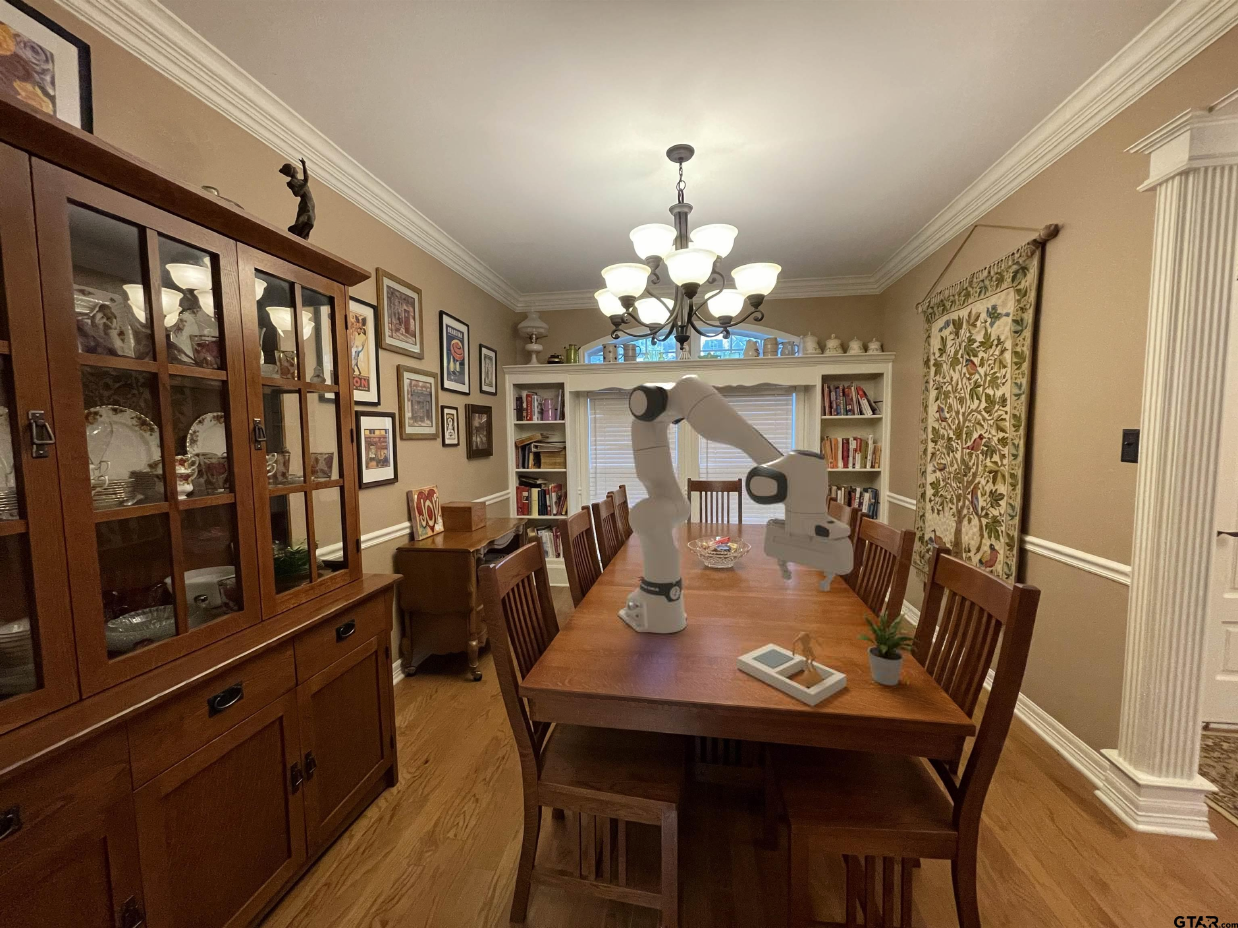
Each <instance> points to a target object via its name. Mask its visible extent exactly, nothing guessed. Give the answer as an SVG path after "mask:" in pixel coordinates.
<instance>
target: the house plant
mask: <svg viewBox="0 0 1238 928" xmlns="http://www.w3.org/2000/svg"><path fill="white" fill-rule="evenodd" d="M846 614H848V615H850V613H846ZM868 614H869V615H871V616H872V618H873V619H874V621H875V624H876V625H875V624H874V622H872V620H871V619H870V618H869V615H867V614H865V613H863V612H862V613H860V615H861V616H862V617H863V618H864V619H865V621H864V620H863V618H862V617H860V616H858V615H856V614H853V613H851V615H853V616H856V617H858V618H860V619H861V620H863V621H864V622H865V624H866V625H867V626H868V628H866V629H867V630H868V629H869V630H870V631H871V633H872V635H873V636H874V637H873V638H874V639H875V642H874V641H873V640H872V638H871V637H870V636H868V635H866V634H865V633H859V634H857V636H856V638H859V640H863V641H869V642H871V643H873V645H874V646H870V647H868V649H867V653H868V659H869V665H870V666H869V667H870V671H871V677H872V679H873V681H875V682H877V683H878V684H881V685H884V686H897V685H898V684H899V680H900V674H901V670H902V666H903V661H904V654H903V653H902V652H901V651H899V650H902V651H905V652H907V653H909V654H910V655H911V656H912V655H913V654H912V651H911V649H912V650H914V651H916V652H917V653H919V652H918V648H917V647H915V645H912V644H910V643H906V642H909V641H910V642H911V641H912V642H916V643H917V642H918V643H922V642H921V641H919V640H917V639H916V638H913V637H908V636H904V633H906V634H910V632H909V631H907V630H908V629H909V628H913V627H917V626H919V625H918V624H912V625H909V626H907V627H905V628H903V629H902V630H899V631H898V629H899V627H900V625H902V621H903V618H904V617H905V615H906V614H907V612H905V613H902V614H900V615H898V616H897V617H896V618H895V620H894V621H893V622H892V623H891V624H890V625H889V627H888V614H889V609H887V610H886V611H885V615H883V614H882V612H881V611H878V614H879V621H880V625H881V626H880V625H878V622H877V620H876V618H875V617H874V615H873V614H872V613H870V612H868ZM887 627H888V629H887ZM909 648H910V649H909Z"/></svg>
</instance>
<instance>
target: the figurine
mask: <svg viewBox="0 0 1238 928" xmlns="http://www.w3.org/2000/svg"><path fill="white" fill-rule="evenodd" d="M811 639H812V640H815V642H816V643H817V645H818V646H819V647H820V648H821V650H822V651H823V652H825V650H824V647H823V645H822V644H821V643H820V641H819V640H818V639H817V637H815V636H813V635H811V634H810V632H808V631H805V632H804V631H799V634H798V636H797V637H796V638H795V639H794V640H793V641H792V651H791V652H792V655H793V656H795V654H797V653H796V652H795V650H796V643H797V642H799V641H800V642H801V645H802V648H801V650H800V651H801V653H802V654H803V657H804V658H806V660H805V665H806V667H807V670H806V671H804V673H803V675H802V679H803V682H804V685H806V686H807V687H808V688H811V687H813V686H815V685H817V684H818V683H820V682H822V681H823V679H822V676H821V674H820V673H819V672H818V671H817V670H816V669H815V668H814V665H813V663H812V662H813V661H814V662H815V661H816V659H817V656H816V655H815V653H814V651H813V647H812V646H810V643H811ZM810 657H811V658H810ZM809 660H810V663H811V666H812V669H809V667H808V664H807V663H808V661H809Z"/></svg>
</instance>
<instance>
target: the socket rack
mask: <svg viewBox="0 0 1238 928" xmlns="http://www.w3.org/2000/svg"><path fill="white" fill-rule="evenodd" d="M792 652H793V651H790V650H788V649H785V648H782V647H781V646H778V645H777V644H773V643H769V644H766V645H764V646H762V647H760V648H757V649H754V650H752V651H750V652H748V653H745V654H742V655H741V656H738V657H737V659H736V660H737V661H736V663H737V664H736V666H737V669H739V670H740V671H743V672H745V673H746V674H748V675H750V676H752V677H754V678H756V679H758V680H761V682H764V683H766V684H768V685H770V686H772V687H774V688H775V689H778V690H780V691H781V692H783V693H786V695H789V696H792V697H794V698H795V699H798V700H799V701H801V702H803V703H806V704H807V705H809V706H810V707H814V706H815V705H817V704H819V703H821V702H822V701H824V700H825V699H827V698H830V696H832V695H834V694H835V693H837V692H839V691H841V690H843V689H844V688H845V687H847V675H846V674H845V673H842V672H839V671H836V670H834V669H832V668H831V667H827V666H825V665H823V664H820V663H818V662H815V660H814V661H813V662H812V663H813V665H814V668H815V669H816V670H817V671H818V672H819V673H820V674H821V676H822V682H820V683H818V684H817V685H815V686H813V687H811V688H810V687H808V688H807V687H805V686H804V685H801V684H799V683H797V682H795V681H793V680H790V679H789V678H788V677H789V676H793V674H796V673H798V672H800V671H802V670H803V671H804V672H805V671H806V670H807V667H806V665H805V660H806V658H805V657H804V656H802V655H799V654H797V653H796V654H795V656H793V655H792ZM807 664H808V667H809V669H812V666H811V663H810V659H809V661H808V663H807Z"/></svg>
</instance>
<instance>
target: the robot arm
mask: <svg viewBox="0 0 1238 928" xmlns="http://www.w3.org/2000/svg"><path fill="white" fill-rule="evenodd" d="M628 399H629V400H628V408H629V411H630V413H631V415H632V417H633V418H632V420H631V426H630V427H631V428H630V431H631V433H630V434H631V435H630V436H631V448H632V449H631V450H632V455H633V462H634V469H635V475H636V478H637V480H639V482H640V483H642V485H643V486H644V488H645V491H646V493H647V496H648V497H645V498H642V499H640V500H639V501H638V502H636V503H635V504H634V505H633V506H632V507H630V510H629V511H628V517H627V519H628V523H629V527H630V528H631V530H632V531H633V532H634V533H635V534H636V535H637V538H638V540H639V542H640V543H639V544H640V547H641V551H642V568H643V573H642V574H643V575H642V576H639V577H637V579H638V580H637V581H638V582H640V583H639V587H638V588H637V589H636V590H634V591H633V592H632V593H630V594H629V595H628V596H627V597H626V601H625V607H624V608H622V609H620V610H619V611H618V616H619V617H620V618H621V619H622V620H623V621H624V622H625V623H627V624H628V625H629V626H630V627H631V628H632V629H634V630H635V631H636V632H638V633H653V634H654V633H655V634H670V633H676V632H680V631H682V630H684V629H685V628H686V627H687V622H686V621H687V620H686V619H687V617H688V616H687V613H686V612H685V604H684V595H683V592H682V590H683V578H682V576H681V552H680V549H678V547H676V544H675V541H674V537H673V530H674V529H677V528H679V527H681V526H682V525H683V524H685V523H686V522H687V520H688V519H689V518H690V516H691V513H692V504H691V502H690V500H689V499H688V498H687V497H686V496H685V495H684V493H683V492H682V489H681V486H680V484H679V482H678V479H677V477H676V474H675V470H674V466H673V460H672V453H671V449H670V448H671V447H670V441H669V437H668V430H669V426H670V425H671V424H672V425H674V426H676V425H678V424H680V423H681V422H683V421H684V420H685V421H686V422H687V423H688V424H689V426H690V428H692V430H693V431H695V432H696V433H697V434H698V435H699V436H700V437H702V438H703V439H704V440H706V441H710V442H714V443H718V444H722V445H727V446H729V447H734V448H736V449H737V450H740V451H741V452H743V453H745V454H746V456H748V457H749V458H750V459H751V460H752V461H753V463H755V464H756V466H754V467H752V468H751V469H750V470H749V471H748V473H747V474H746V476H745V481H744V482H745V483H744V484H745V486H744V487H745V492H746V494H747V497H748V498H750V500H751V501H752V502H754V503H756V504H758V505H762V506H772V505H778V504H782V505H783V506H784V519H783V518H782V519H781V518H777V517H772V518H770V519H768V520H767V521H766V524H765V528H766V529H765V530H766V531H765V534H764V535H765V536H764V543H763V552H764V554H765V556H766V557H770V558H773V559H776V560H777V563H776V564H777V566H778V567H779V570H780V571H781V579H783V580H786V581H789V580H791V579H792V572H793V571H791V570H789V568H788V563H792V564H796V565H800V566H805V567H808V568H811V569H812V568H813V569H816V570H820V571H823V576H825V578H824V580H821V581H819V582H818V585H819V587H818V588H819V590H821V591H824V592H828V591H830V589H831V582H832V581H833V580H834V578H835V576H836V575H840V576H843V575H846V574H849V573H851V572H852V571H853V569H854V549H853V544H852V541H851V539H850V538H849V537H848V536H850V535H851V527H850V526H849V525H847V524H845V523H843V522H842V521H839V520H838V519H835V518H834V517H831V516H830V515H828V513H829V509H828V506H827V497H828V493H829V472H828V471H829V469H828V464H827V461H826V458H825V457H824V456H823V454H821V453H818V452H816V451H813V450H812V451H811V450H806V449H805V450H804V449H792V450H789V451H788V452H787V453H786V454H785V455H784V453H782V452H781V451H780V450H779V449H778V448H777V447H775V445H773V444H772V442H770V440H768V439H767V438H766V437H765V436H764V435H763V434H762V433H761V432H760V431H759V430H757V428H755V427H754V426H753V425H751V424H750V423H749V422H748V421H747V420H746V419H745V418H744V417H743V416H742V415H740V414H739V412H737V410H736V409H735V408H734V407H733V406H732V405H731V404H730V403H729V402H728V400H726V398H724V396H723V395H722V394H721V393H720V392H719V391H718V390H717V389H716V388H715V387H714V386H712V385H711V384H710V383H709V382H707V381H706V380H705V379H703V378H702V377H700V376H699V375H696V374H687V375H684V376H682V377H681V378H680V379H679V380H677V381H676V382H672V381H671V382H670V381H669V382H668V381H663V382H654V383H651V382H646V383H643V384H639V385H637V386H635V387H634V388H633V389H632V391H631V392H630V394H629V397H628Z"/></svg>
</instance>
